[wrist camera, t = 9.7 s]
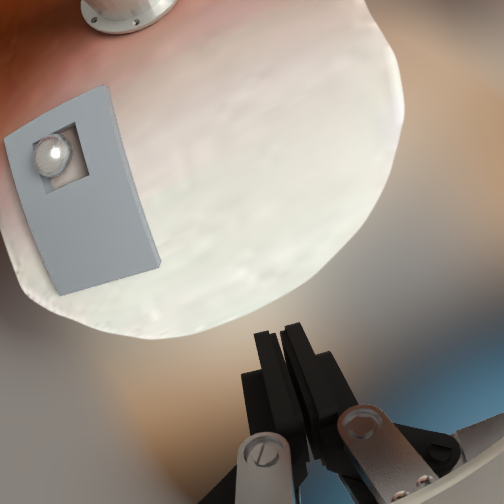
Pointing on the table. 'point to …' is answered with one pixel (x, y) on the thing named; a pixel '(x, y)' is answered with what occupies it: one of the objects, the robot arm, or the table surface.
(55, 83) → the table surface
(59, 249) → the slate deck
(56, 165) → the steel ball
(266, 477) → the robot arm
